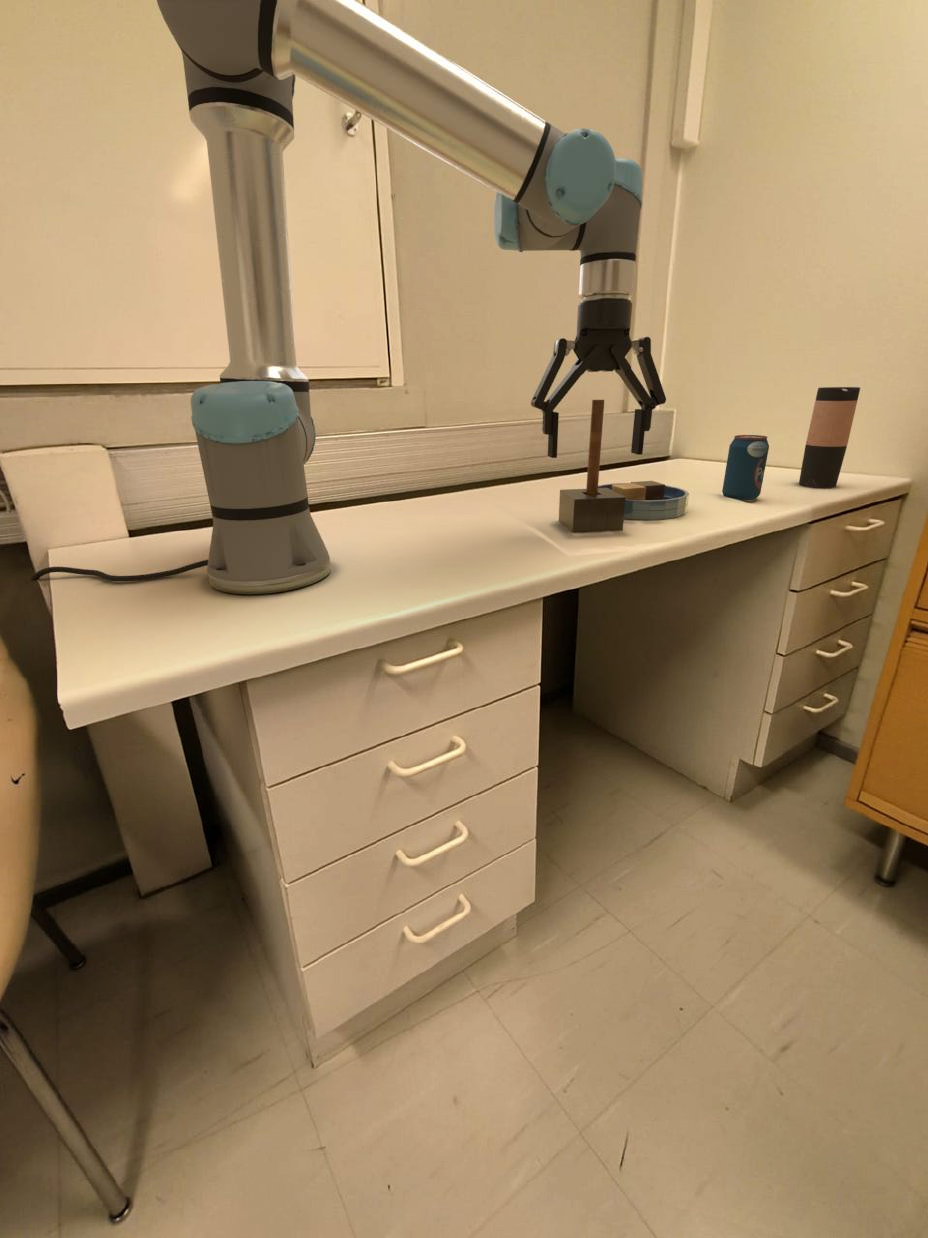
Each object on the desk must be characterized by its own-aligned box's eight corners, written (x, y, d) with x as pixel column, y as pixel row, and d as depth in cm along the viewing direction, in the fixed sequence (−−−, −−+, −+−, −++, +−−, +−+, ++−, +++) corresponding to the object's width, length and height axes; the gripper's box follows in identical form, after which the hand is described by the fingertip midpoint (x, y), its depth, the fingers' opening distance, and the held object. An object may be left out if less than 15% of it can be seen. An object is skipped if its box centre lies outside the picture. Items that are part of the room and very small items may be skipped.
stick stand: (572, 537, 89) (574, 499, 86) (558, 525, 96) (559, 489, 94) (622, 535, 89) (626, 497, 87) (604, 522, 97) (607, 487, 94)
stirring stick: (585, 531, 92) (594, 399, 84) (582, 528, 93) (590, 399, 85) (596, 530, 92) (606, 399, 84) (592, 528, 94) (602, 399, 86)
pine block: (621, 513, 99) (623, 488, 98) (609, 508, 103) (611, 484, 101) (643, 512, 100) (646, 487, 98) (631, 507, 104) (633, 483, 102)
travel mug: (805, 481, 129) (826, 386, 121) (842, 485, 124) (866, 386, 116) (791, 485, 125) (811, 387, 117) (829, 489, 119) (853, 387, 111)
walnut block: (640, 510, 101) (643, 486, 99) (628, 505, 105) (630, 482, 103) (662, 509, 102) (665, 484, 100) (649, 504, 106) (652, 480, 104)
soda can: (761, 503, 109) (774, 438, 104) (722, 501, 111) (733, 437, 106) (756, 496, 115) (767, 434, 110) (719, 494, 117) (729, 434, 112)
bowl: (606, 526, 94) (608, 502, 93) (575, 505, 110) (577, 484, 108) (703, 522, 96) (707, 498, 94) (660, 501, 112) (662, 481, 110)
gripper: (677, 302, 84) (660, 449, 93) (513, 304, 82) (511, 455, 90) (702, 295, 77) (682, 455, 86) (524, 297, 75) (521, 461, 83)
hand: (594, 455), depth 88 cm, fingers open, 13 cm apart
